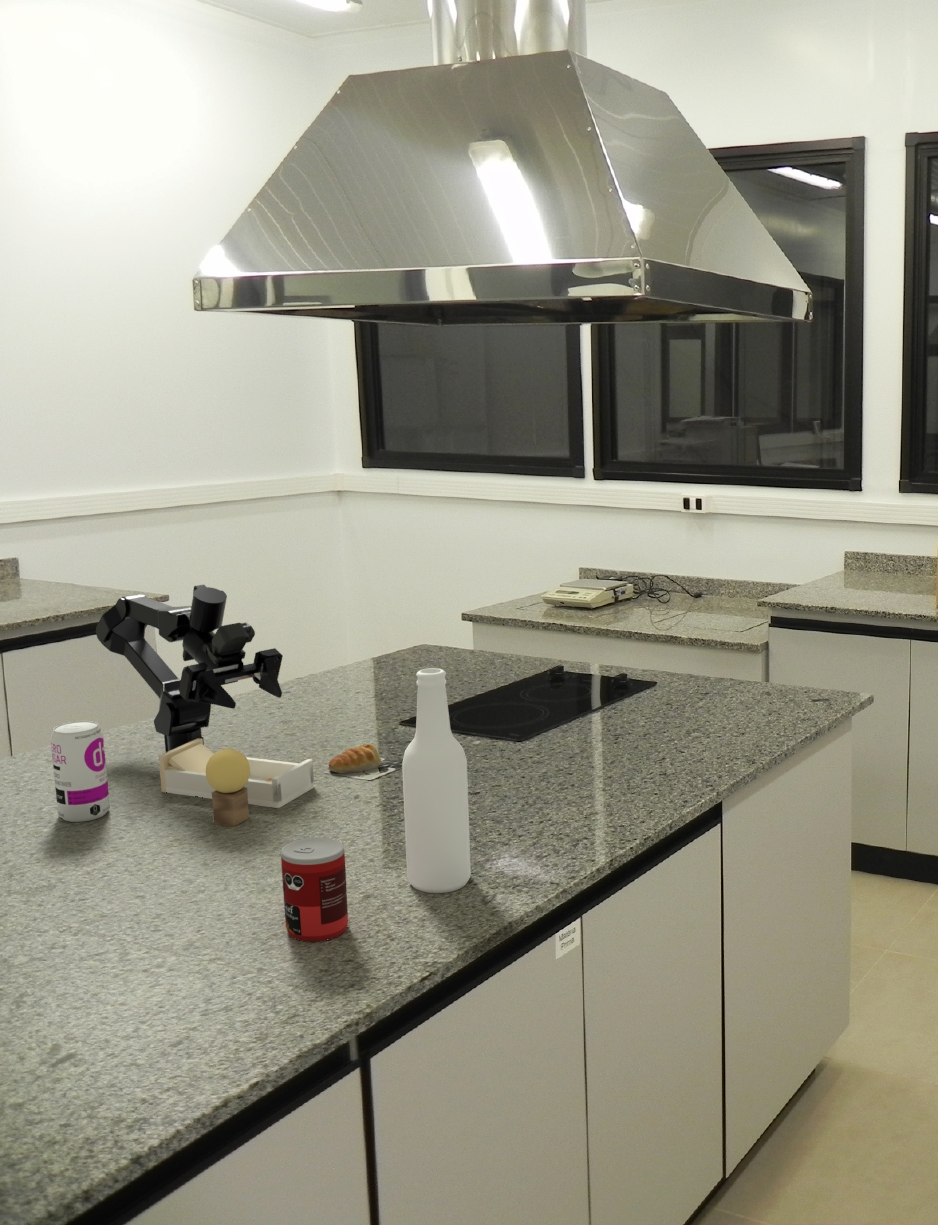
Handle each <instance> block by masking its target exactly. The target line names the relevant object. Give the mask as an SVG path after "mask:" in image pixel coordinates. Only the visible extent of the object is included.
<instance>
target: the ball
mask: <svg viewBox="0 0 938 1225" xmlns="http://www.w3.org/2000/svg"><path fill="white" fill-rule="evenodd" d="M246 757H247V756H246V755H244V753H243V752H240V751H239V750H238V749H237V750H236V749H233V748H225V749H220V750H219V751H216V752H215V754H214V755H212V756H211V758H210V759H209V761H208V763H207V765H206V778H207V780H208V782H209V784H210V785H211V786H212V787H213V788H214V789H215V790H217V791H219V792H222V793H233V792H236V791H238V790H240V789H241V788H243V787H244V786H245V784H246V783H247V781H248V779H249V777H250V764H249V762H248V760H247V758H246Z"/></svg>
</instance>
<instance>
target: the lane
mask: <svg viewBox="0 0 938 1225" xmlns="http://www.w3.org/2000/svg"><path fill="white" fill-rule="evenodd" d="M203 739H204V738H203ZM203 739H201V738H197V739H195V740H193V741H191V742H188V743H186V744H184V745H182V746H179V747H177V748H175V749H173V750H171V751H168V752H165V753H161V754H159V755H158V766H159V777H160V789H161V793H166V792H167V794H173V795H181V796H186V797H187V796H189V797H195V796H198V797H197V798H202V797H203V798H204V799H209V800H212V792H214V791H216V790H215V789H214V788H213V787H212V786H211V785H210V784H209V782H208V780H207V778H206V765H207V763H208V761H209V759H210V758H211V756H212V755H214V754H215V753H216V752H215V753H214V752H213V751H211V749H209V748H208V747H207V746H206V745H205V744H204V745H203ZM245 757H246V758H247V760H248V762H249V764H250V777H249V779H248V781H247V783H246V784H245V786H244V787H246V788H247V793H248V805H251V806H252V805H253V806H261V807H267V808H276V809H280V808H282V807H283V806H285V805H287V804H288V803H290V802H292V801H293V800H296V799H297V798H299V797H300V796H302V795H304V794H305V793H307V792H309V791H311V790H312V789H314V788H315V777H314V775H315V774H314V760H313V758H312V759H311V758H306V759H305V760H303V761H300V763H298V762H291V761H290V762H289V761H282V760H273V759H265V758H256V757H247V756H245Z"/></svg>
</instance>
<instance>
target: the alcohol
mask: <svg viewBox="0 0 938 1225" xmlns="http://www.w3.org/2000/svg"><path fill="white" fill-rule="evenodd" d="M446 675H447V672H446V670H444V669H441V668H438V667H437V668H435V667H431V668H429V667H428V668H423V669H419V670H418V671H417V672H416V674H415V676H416V677H417V679H416V681H415V682H416V686H417V693H416V694H417V696H416V697H417V698H416V702H417V703H416V719H415V720H416V723H415V725H416V726H415V727H416V728H415V734H414V736H413V739H412V740H411V741H410V743H409V744H408V746H407V747H406V749H405V750H404V755H403V758H402V759H403V760H402V763H401V768H402V770H401V771H402V786H403V787H402V790H403V809H404V810H403V811H404V813H403V814H404V835H405V838H404V839H405V854H406V855H405V856H406V877H407V878H406V879H407V880H408V882H409V883H410V884H411V886H412V887H413V889H415V890H417V891H419V892H421V893H428V894H445V893H453V892H454V891H457V890H459V889H462V888H463V887H465V886H466V884H467V883H468V881H469V880H470V878H471V870H472V869H471V868H472V867H471V849H470V848H471V846H470V844H471V842H470V817H469V816H470V815H469V813H470V812H469V786H468V781H469V780H468V760H467V757H466V754H465V749H464V748H463V745H461V744H460V742H459V741H458V740H457V739H456V737H454V735H453V732H452V729H451V722H450V715H449V714H450V713H449V706H448V704H449V703H448V698H447V697H448V696H447V687H446V685H447V679H446Z"/></svg>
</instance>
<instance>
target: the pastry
mask: <svg viewBox="0 0 938 1225" xmlns="http://www.w3.org/2000/svg"><path fill="white" fill-rule="evenodd" d="M381 764H382V758H381V756H380V753H379V752H378V749H377V748H376V747H375V745H373V744H371V743H369V744H363V745H362V746H361V745H360V746H354V747H349V748H347V749H345V750H344V751H343V752H342V753H339V754H337V755H336V756H334V757H333V758H331V759H330V760H329V762H328V771H331V772H334V773H338V774H349V773H358V772H362V771H367V770H372V769H375V768H379V767H380V765H381Z"/></svg>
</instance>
